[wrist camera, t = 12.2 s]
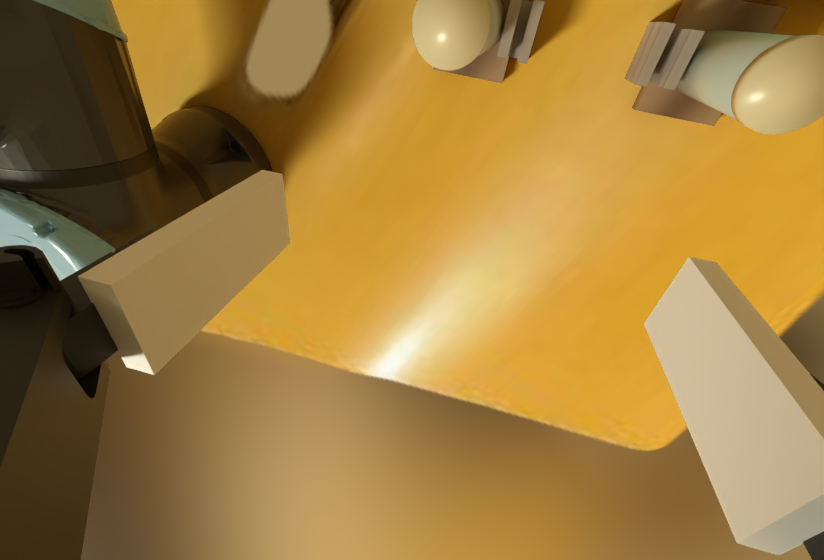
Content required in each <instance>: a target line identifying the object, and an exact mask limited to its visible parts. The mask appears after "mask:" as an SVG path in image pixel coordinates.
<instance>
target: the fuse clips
mask: <svg viewBox="0 0 824 560" xmlns="http://www.w3.org/2000/svg"><path fill="white" fill-rule="evenodd" d="M500 1H501V2H502V4H503V7H504V11H505V25H504V29H503V32H502V35H501V37H500V39H499V40H498V42H497V43H496V44H495V45H494V46H493V47H492V48H491V49H489V50H488V51H486V52H484V53H483V54H481V55H479V56H478V57H477V58H476V59H475V60H473V61H472V62H471V63H469V64H468V65H466V66H464V67H462V68H460V69H456V70H450V71H447V70H441V69H438V68H435V67H434V69H435V70H440V71H445V72H450V73H455V74H459V75H464V76H469V77H474V78H479V79H484V80H489V81H494V82H499V83H502V82H503V79H504V75H505V72H506V68H507V64H508V60H509V57H512V58H517V59H518V60H517V62H521V63H526V64H527V62H528V58H529V55H530V51H531V48H532V45H533V41H534V38H535V34H536V31H537V27H538V24H539V20H540V17H541V13H542V10H543V7H544V3H545V1H541V0H534V2H532V1H526V0H500ZM785 10H786V8H785V7H779V6H773V5H767V4H760V3H754V2H748V1H742V0H683V1H682V3H681V5H680V7H679V9H678V11H677V13H676V16H675V18H674V20H673V22H672V23H669V22H649V25H648V27H647V29H646V31H645V34H644V36H643V38H642V41H641V43H640V45H639V47H638V50H637V52H636V54H635V57H634V59H633V61H632V63H631V66H630V68H629V70H628V72H627V75H626V77H625V79H626V80H628V81H630V82H632V83H633V84H635V85H640V86H642V88H641V90H640V92H639V94H638V96H637V98H636V101H635V103H634V105H633V107H632V108H634V109H635V110H638V111H643V112H648V113H653V114H658V115H663V116H668V117H673V118H678V119H683V120H687V121H692V122H697V123H702V124H707V125H712V126H715V124H716V122H717V121H718V119H719V117H720V116H721V114H722V112H720V111H718V110H716V109H714V108H712V107H710V106H707V105H705V104H703V103H701V102H699V101H697V100H695V99H693V98H691V97H689V96H687V95H685V94H683V93H681V92H679V91H678V90H677V89H676V86H677V84H678V82H679V80H680V78H681V77H682V75H683V73H684V71H685V69H686V67H687V65H688V63H689V61H690V59H691V57H692V55H693V54H694V52H695V50H696V48H697V46H698V44H699V42H700V40H701V38H702V36H703V34H704V32H707V31H711V30H728V31H742V32H755V33H769V34H771V33H772V31H773V29H774V28H775V26H776V25H777V23H778V21H779V20H780V18H781V16H782V15H783V13H784V11H785Z"/></svg>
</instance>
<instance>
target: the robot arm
mask: <svg viewBox="0 0 824 560" xmlns="http://www.w3.org/2000/svg"><path fill="white" fill-rule="evenodd" d="M126 42H128V39H127V37H126V35H125V34H124V33H123V32H122V30H121V27H120V24H119V21H118V19H117V16H116V13H115V10H114V7H113V4H112V1H111V0H0V560H81V554H82V547H83V541H84V534H85V528H86V521H87V515H88V509H89V503H90V496H91V490H92V483H93V477H94V471H95V464H96V457H97V451H98V444H99V438H100V432H101V425H102V419H103V412H104V407H105V400H106V394H107V387H108V381H109V375H110V368H109V364H108V362H107V361H106V359H107V358H109V357H110V356H111V355H112V354H114V353H115V352H116V351H117V350H118V352H119V354H120V356H121V358H122V360H123V361H124V363H125V365H126V367H128V368H132V369H135V370H139V371H142V372H146V373H149V374H152V375H155V374H156V373H157V372H158V371H159V370H160V369H161V368H162V367H163V366H164V365H165V364H166V363H167V362H168V361H169V360H170V359H171V358H172V357H173V356H174V355H175V354H176V353H177V352H178V351H179V350H180V349H182V347H183V346H185V345H186V344H187V343H188V342H189V341H190V340H191V339H192V338H193V337H194V336H195V335H196V334H197V333H198V332H199V331H200V330H201V329H202V328H203V327H204V326H205V325H206V324H207V323H208V322H209V321H210V320H211V319H212V318H213V317H214V316H215V315H216V314H218V313H219V312H220V311H221V310H222V309H223V308H224V307H225V306H226V305H227V304H228V303H229V302H230V301H231V300H232V299H233V298H234V297H235V296H236V295H237V294H238V293H239V292H240V291H241V290H242V289H243V288H244V287H245V286H246V285H247V284H248V283H249V282H250V281H251V280H252V279H254V278H255V277H256V276H257V275H258V274H259V273H260V272H261V271H262V270H263V269H264V268H265V267H266V266H267V265H268V264H269V263H270V262H271V261H272V260H273V259H274V258H275V257H276V256H277V255H278V254H279V253H280V252H281V251H282V250H283V249H284V248H285V247H286V246H287V245H288V244H290V238H289V228H288V219H287V209H286V199H285V190H284V180H283V174H281V173H276V172H272V170H271V167H270V164H269V162H268V159H267V157H266V155H265V153H264V151H263V150H262V148H261V146H260V145H259V143H258V142H257V141H256V139H255V138H254V137H253V136H252V135H251V133H250V132H249V131H248V130H247V129H246V128H245V127H244V126H243V125H241V124H240V123H239V122H238V121H236V120H235V119H234V118H232V117H231V116H229V115H227V114H225V113H224V112H221V111H219V110H216V109H213V108H210V107H203V106H196V107H190V108H186V109H182V110H178V111H175V112H173V113H171V114H169V115H168V116H167V117H165V118H164V119H163V120H162V122H160V123H159V124H158V125H157V126H156V127H154V128H153V129H152V130H151V127H150V124H149V121H148V117H147V114H146V111H145V107H144V104H143V101H142V97H141V94H140V90H139V86H138V83H137V79H136V76H135V72H134V69H133V65H132V62H131V58H130V55H129V51H128V48H127V44H126ZM644 325H645V328H646V330H647V332H648V335H649V337H650V339H651V342H652V344H653V346H654V349H655V351H656V354H657V356H658V358H659V361H660V363H661V365H662V368H663V370H664V372H665V375H666V377H667V379H668V382H669V384H670V387H671V389H672V391H673V394H674V396H675V398H676V401H677V403H678V405H679V408H680V410H681V412H682V415H683V417H684V420H685V422H686V424H687V427H688V429H689V431H690V434H691V436H692V438H693V440H694V443H695V445H696V448H697V450H698V452H699V455H700V457H701V459H702V462H703V464H704V467H705V469H706V471H707V474H708V476H709V478H710V481H711V483H712V485H713V488H714V490H715V493H716V495H717V497H718V500H719V502H720V504H721V507H722V509H723V511H724V514H725V516H726V518H727V521H728V523H729V525H730V528H731V530H732V532H733V535H734V537H735V540H736V542H737V543H738V544H742V545H745V546H748V547H752V548H755V549H759V550H762V551H766V552H769V553H773V554H776V555H780V554H783V553H785V552H787V551H789V550H791V549H793V548H795V547H797V546H799V545H801V544H803V543H804V545H805V547H806V549H807V551H808V553H809V554H810V556H811V558H812V560H824V384H823V383H821V382H820V381H819V380H817V379H816V378H815V377H814V376H813V375H811V374H809V373H808V371H806V369H805V368H804V367H803V366H802V364H801V363H800V362H799V361H798V360H797V358H796V357H795V356H794V355H793V354H792V352H791V351H790V350H789V349H788V348H787V346H786V345H785V344H784V343H783V342H782V340H781V339H780V338H779V337H778V336H777V334H776V333H775V332H774V331H773V330H772V328H771V327H770V326H769V325H768V324H767V322H766V321H765V320H764V319H763V318H762V316H761V315H760V314H759V313H758V312H757V310H756V309H755V308H754V307H753V306H752V305H751V303H750V302H749V301H748V300H747V299H746V297H745V296H744V295H743V294H742V293H741V291H740V290H739V289H738V288H737V287H736V285H735V284H734V283H733V282H732V281H731V279H730V278H729V277H728V276H727V275H726V273H725V272H724V271H723V270H722V269H721V267H720V266H719V265H718V264H717V263H716V262H711V261H707V260H702V259H697V258H692V257H689V258H688V259H687V261H686V262H685V264H684V265H683V267H682V268H681V270H680V271H679V273H678V274H677V275H676V277H675V278H674V280H673V281H672V283H671V284H670V286H669V287H668V289H667V290H666V292H665V293H664V295H663V296H662V298H661V299H660V301H659V302H658V304H657V305H656V307H655V308H654V310H653V311H652V312H651V314H650V315H649V317H648V318H647V320H646V321H645V323H644Z"/></svg>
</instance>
